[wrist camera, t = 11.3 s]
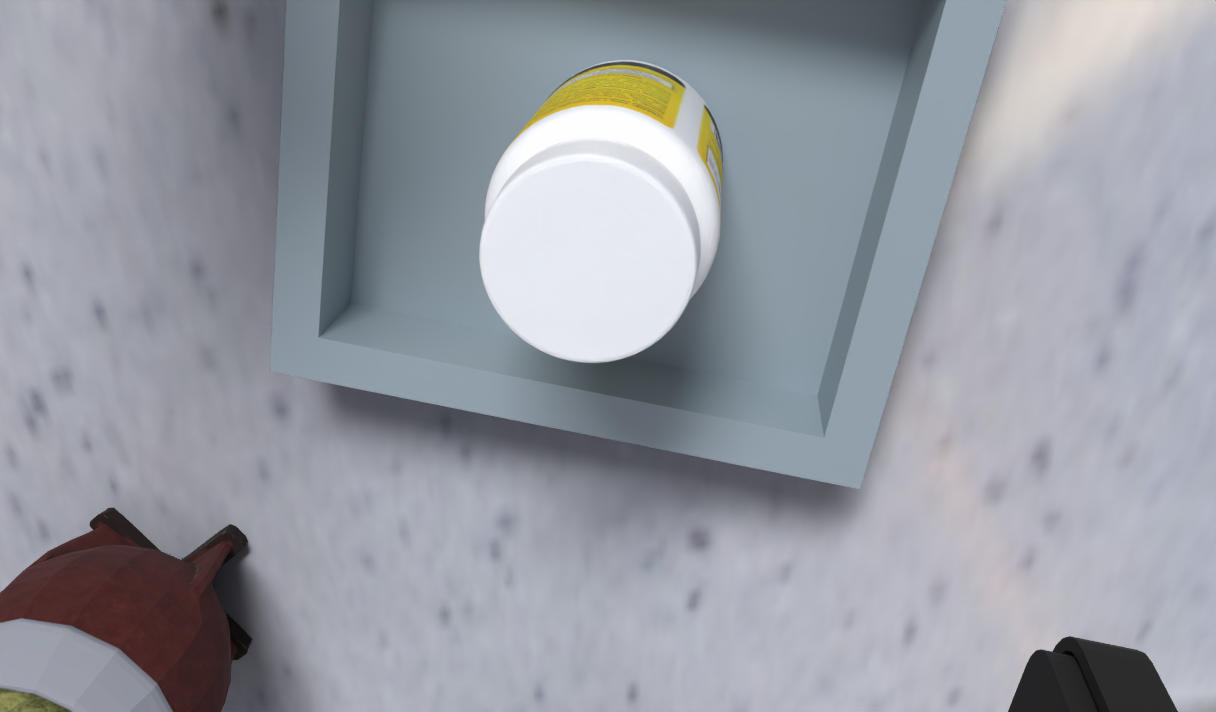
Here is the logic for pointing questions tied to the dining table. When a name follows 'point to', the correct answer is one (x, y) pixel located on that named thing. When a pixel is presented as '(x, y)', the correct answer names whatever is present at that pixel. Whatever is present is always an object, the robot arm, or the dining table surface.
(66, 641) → the mate gourd
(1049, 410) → the dining table surface
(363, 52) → the tray
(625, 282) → the supplement bottle
